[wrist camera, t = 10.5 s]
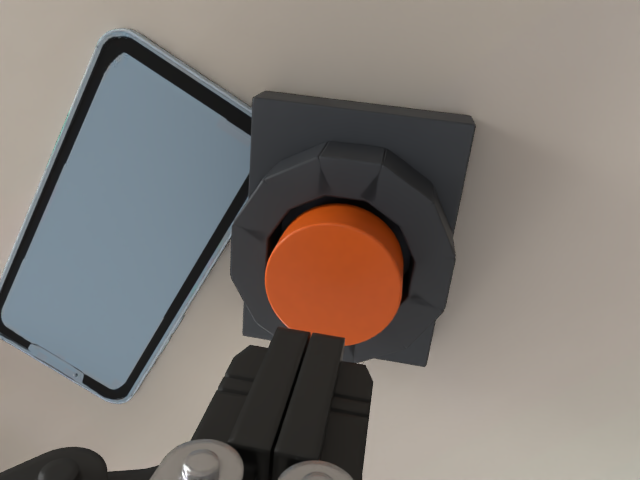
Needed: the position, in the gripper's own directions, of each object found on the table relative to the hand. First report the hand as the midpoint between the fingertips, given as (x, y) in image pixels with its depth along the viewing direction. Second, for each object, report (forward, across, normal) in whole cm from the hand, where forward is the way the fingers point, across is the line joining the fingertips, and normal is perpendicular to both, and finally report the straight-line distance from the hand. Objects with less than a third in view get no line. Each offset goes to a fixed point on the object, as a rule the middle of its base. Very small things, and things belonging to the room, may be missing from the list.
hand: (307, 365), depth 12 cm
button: (+6, 0, 0) cm, 6 cm away
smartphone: (+9, +9, +2) cm, 13 cm away
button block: (+9, 0, 0) cm, 9 cm away
